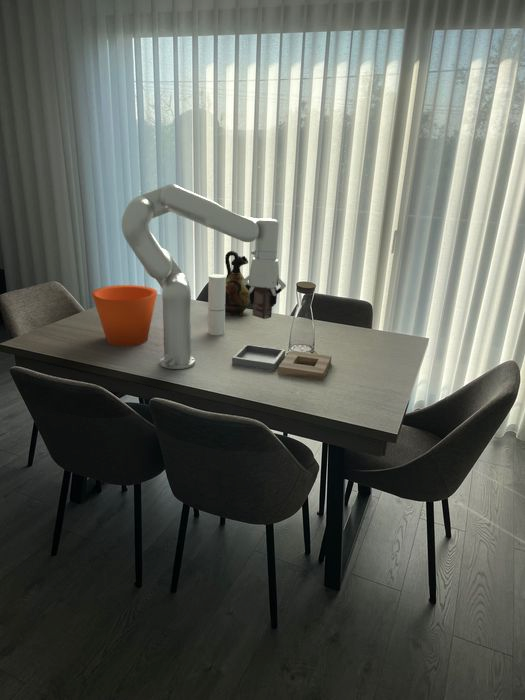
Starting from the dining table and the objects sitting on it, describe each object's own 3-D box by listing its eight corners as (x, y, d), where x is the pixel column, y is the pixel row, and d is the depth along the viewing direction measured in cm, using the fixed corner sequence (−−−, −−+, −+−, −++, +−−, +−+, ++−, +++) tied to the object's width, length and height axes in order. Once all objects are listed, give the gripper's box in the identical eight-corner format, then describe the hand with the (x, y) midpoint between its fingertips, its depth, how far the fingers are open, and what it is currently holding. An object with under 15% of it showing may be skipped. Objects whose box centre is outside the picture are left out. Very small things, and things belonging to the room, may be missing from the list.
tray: (274, 371, 184) (274, 363, 183) (232, 365, 188) (232, 357, 187) (284, 356, 199) (285, 349, 198) (245, 351, 203) (245, 344, 202)
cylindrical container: (225, 330, 226) (227, 274, 217) (223, 335, 219) (224, 278, 211) (209, 329, 226) (210, 273, 218) (206, 334, 220) (207, 277, 211)
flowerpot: (111, 354, 193) (108, 303, 186) (85, 336, 211) (81, 289, 204) (169, 342, 208) (168, 295, 201) (141, 326, 226) (139, 282, 219)
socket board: (322, 381, 178) (323, 373, 177) (277, 374, 182) (278, 366, 181) (330, 363, 194) (331, 356, 193) (289, 357, 198) (290, 350, 197)
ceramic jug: (255, 312, 256) (258, 252, 245) (238, 319, 243) (240, 256, 233) (228, 306, 264) (229, 247, 254) (209, 312, 252) (210, 251, 241)
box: (272, 317, 187) (274, 285, 183) (263, 319, 184) (265, 286, 180) (260, 313, 191) (262, 281, 186) (251, 315, 187) (253, 283, 183)
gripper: (238, 253, 178) (236, 303, 184) (287, 259, 174) (283, 310, 180) (245, 251, 185) (243, 299, 191) (292, 256, 181) (288, 305, 187)
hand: (262, 303), depth 185 cm, fingers closed on box, 7 cm apart
